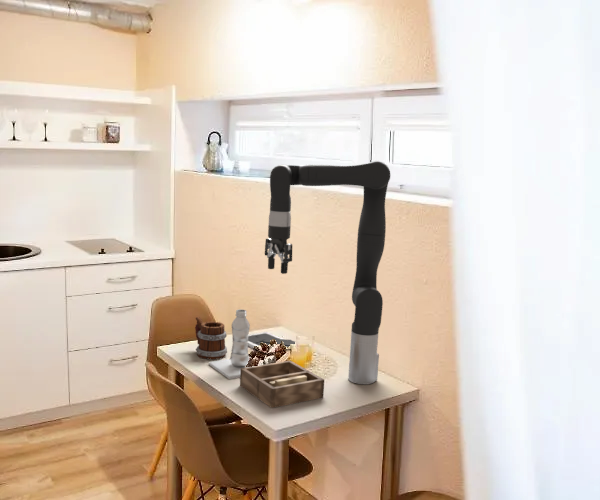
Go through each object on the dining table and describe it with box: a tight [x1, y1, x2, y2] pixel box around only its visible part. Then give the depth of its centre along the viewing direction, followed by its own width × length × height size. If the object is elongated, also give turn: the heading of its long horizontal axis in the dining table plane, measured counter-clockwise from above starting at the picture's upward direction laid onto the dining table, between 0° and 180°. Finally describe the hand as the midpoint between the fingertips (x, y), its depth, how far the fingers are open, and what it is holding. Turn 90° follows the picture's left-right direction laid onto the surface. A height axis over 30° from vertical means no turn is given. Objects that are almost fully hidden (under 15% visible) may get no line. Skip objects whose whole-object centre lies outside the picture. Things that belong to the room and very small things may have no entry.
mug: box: [194, 316, 228, 361], centre depth 242 cm, size 12×14×15 cm
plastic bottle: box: [229, 309, 251, 367], centre depth 228 cm, size 6×7×20 cm
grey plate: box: [208, 358, 246, 380], centre depth 229 cm, size 16×16×1 cm
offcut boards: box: [269, 375, 307, 387], centre depth 204 cm, size 14×5×6 cm, turn 123°
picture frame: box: [248, 331, 296, 349], centre depth 259 cm, size 16×3×21 cm
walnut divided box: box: [239, 360, 325, 409], centre depth 209 cm, size 19×20×6 cm
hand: (277, 271), depth 222 cm, fingers open, 8 cm apart
